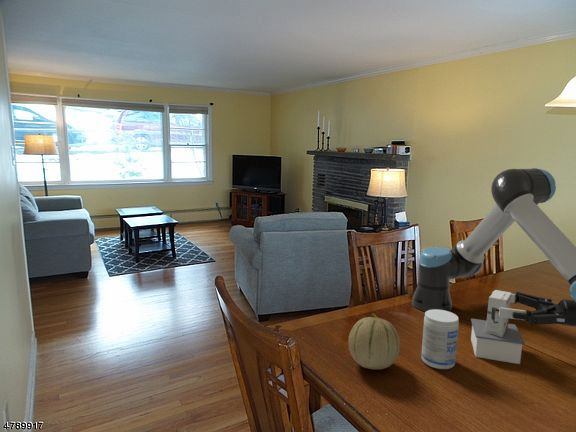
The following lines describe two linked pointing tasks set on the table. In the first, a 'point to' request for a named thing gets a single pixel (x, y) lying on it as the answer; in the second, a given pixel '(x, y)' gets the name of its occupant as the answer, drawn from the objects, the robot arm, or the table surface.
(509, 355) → the podium
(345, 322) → the table surface
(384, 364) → the cantaloupe
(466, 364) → the table surface
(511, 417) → the table surface
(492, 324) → the ink box
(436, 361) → the supplement tub
